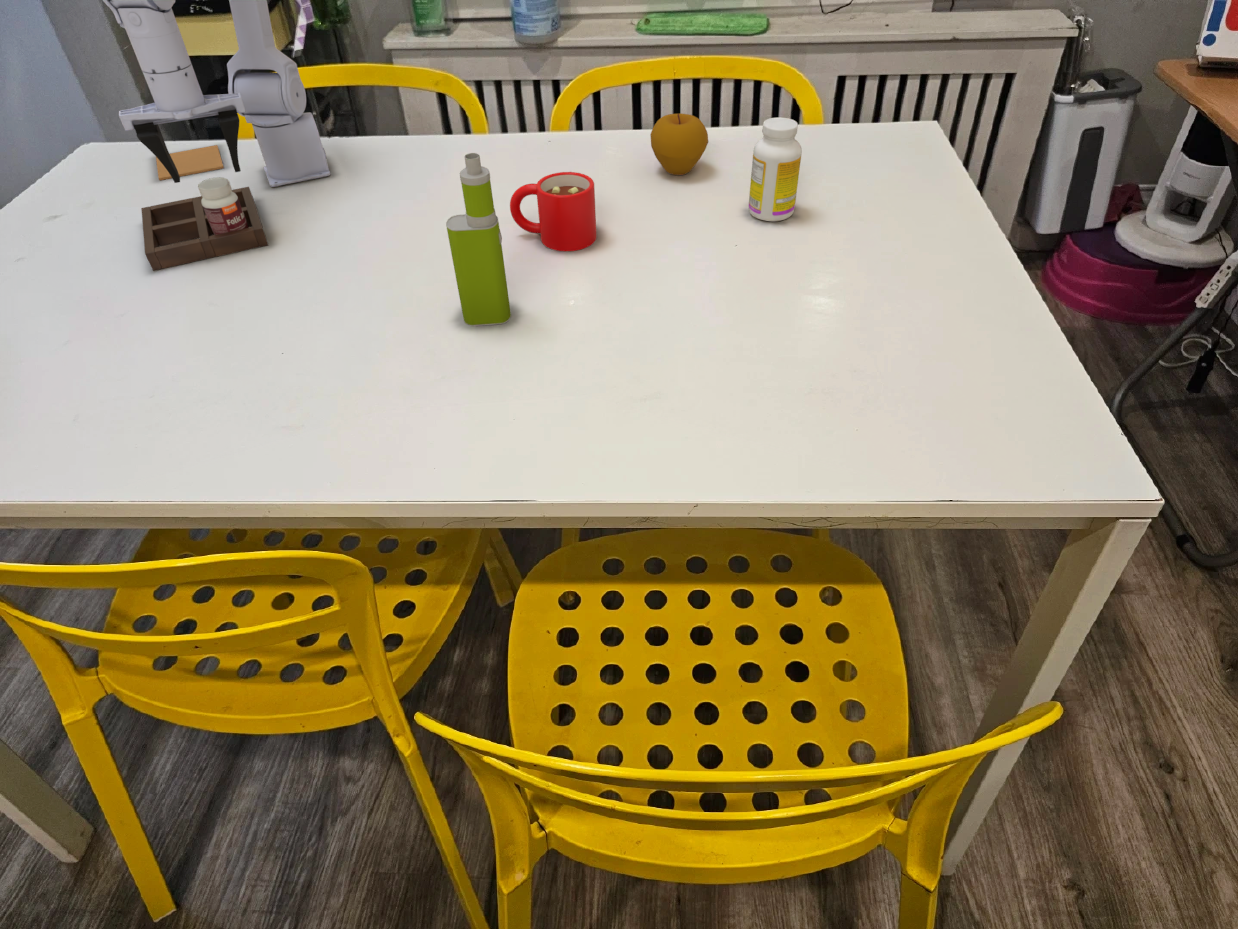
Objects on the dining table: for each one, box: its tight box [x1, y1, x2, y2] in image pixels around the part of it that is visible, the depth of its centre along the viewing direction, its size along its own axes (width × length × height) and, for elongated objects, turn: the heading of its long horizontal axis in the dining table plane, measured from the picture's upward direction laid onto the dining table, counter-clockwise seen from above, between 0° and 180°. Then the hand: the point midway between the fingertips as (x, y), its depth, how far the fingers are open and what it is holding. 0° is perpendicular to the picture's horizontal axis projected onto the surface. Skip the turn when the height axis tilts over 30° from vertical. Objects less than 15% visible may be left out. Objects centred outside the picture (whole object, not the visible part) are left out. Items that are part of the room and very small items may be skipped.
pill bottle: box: [197, 176, 250, 235], centre depth 111 cm, size 5×5×8 cm
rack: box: [140, 186, 269, 271], centre depth 114 cm, size 15×15×3 cm
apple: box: [649, 113, 709, 176], centre depth 124 cm, size 9×9×9 cm
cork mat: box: [155, 144, 225, 181], centre depth 134 cm, size 10×10×1 cm
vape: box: [445, 152, 512, 327], centre depth 91 cm, size 4×6×20 cm, turn 95°
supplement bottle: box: [748, 116, 803, 222], centre depth 112 cm, size 7×7×13 cm
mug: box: [509, 171, 598, 252], centre depth 110 cm, size 8×12×8 cm, turn 84°
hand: (207, 174), depth 107 cm, fingers open, 7 cm apart
